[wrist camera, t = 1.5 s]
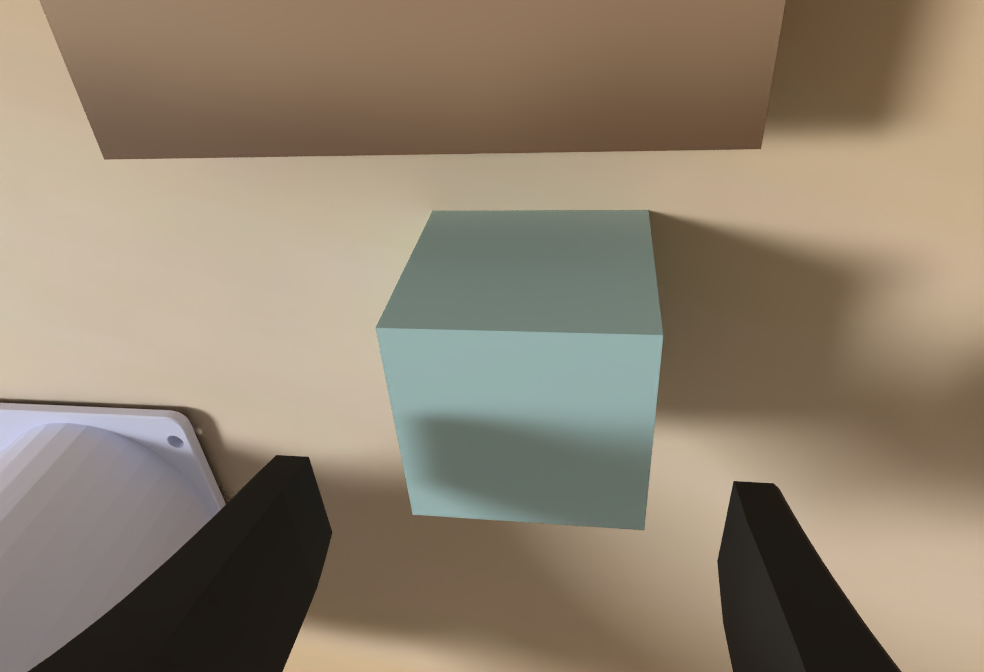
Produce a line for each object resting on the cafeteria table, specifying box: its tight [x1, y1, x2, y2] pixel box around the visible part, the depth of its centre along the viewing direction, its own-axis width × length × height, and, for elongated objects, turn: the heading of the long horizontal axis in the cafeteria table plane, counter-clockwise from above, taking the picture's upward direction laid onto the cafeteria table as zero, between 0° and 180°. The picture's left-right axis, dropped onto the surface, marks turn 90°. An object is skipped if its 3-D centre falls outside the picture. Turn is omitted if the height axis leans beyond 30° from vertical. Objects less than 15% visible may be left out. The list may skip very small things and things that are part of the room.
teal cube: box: [376, 210, 663, 530], centre depth 15 cm, size 5×5×5 cm
